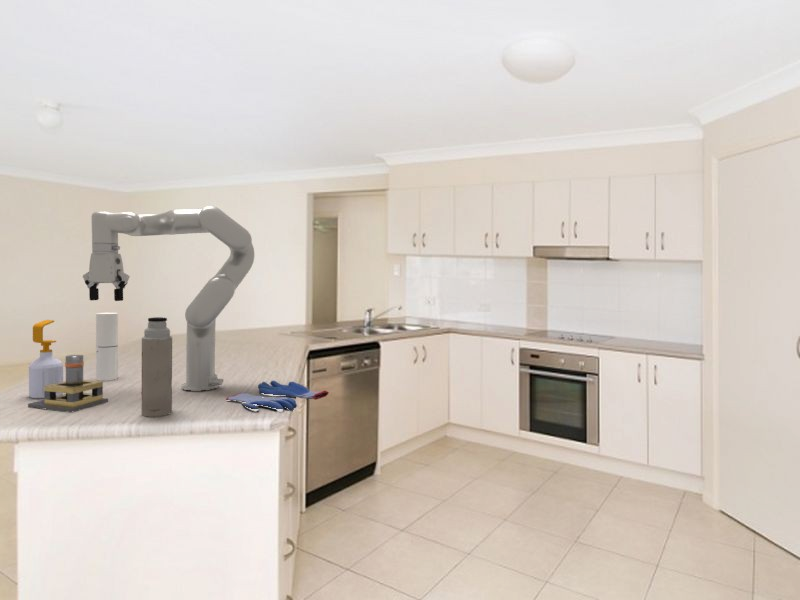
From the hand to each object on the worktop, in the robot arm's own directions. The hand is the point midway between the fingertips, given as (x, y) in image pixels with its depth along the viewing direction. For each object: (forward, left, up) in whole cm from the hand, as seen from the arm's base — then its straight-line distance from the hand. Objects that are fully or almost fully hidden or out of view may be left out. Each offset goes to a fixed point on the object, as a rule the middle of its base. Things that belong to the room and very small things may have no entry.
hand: (106, 300), depth 167 cm
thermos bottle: (-33, +15, -31) cm, 48 cm away
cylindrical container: (+17, -17, -31) cm, 39 cm away
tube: (-5, +16, -30) cm, 34 cm away
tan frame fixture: (-2, +16, -31) cm, 35 cm away
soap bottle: (+14, +10, -31) cm, 36 cm away
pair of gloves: (-58, -12, -32) cm, 67 cm away
